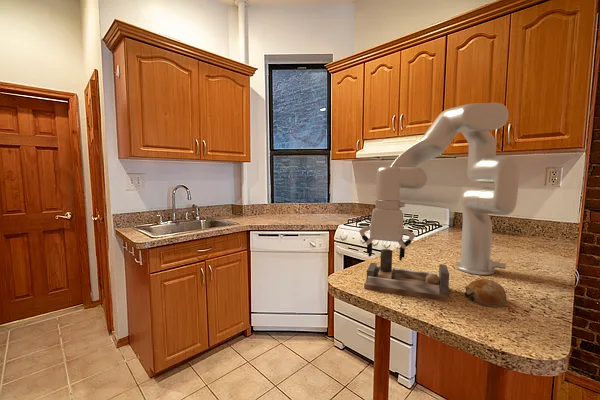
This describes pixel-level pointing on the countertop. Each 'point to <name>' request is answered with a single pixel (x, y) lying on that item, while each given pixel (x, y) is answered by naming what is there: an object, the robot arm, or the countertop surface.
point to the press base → (411, 282)
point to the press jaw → (386, 265)
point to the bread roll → (486, 293)
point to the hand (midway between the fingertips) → (385, 257)
